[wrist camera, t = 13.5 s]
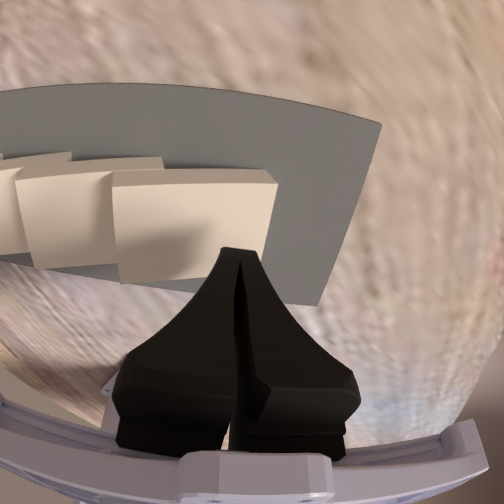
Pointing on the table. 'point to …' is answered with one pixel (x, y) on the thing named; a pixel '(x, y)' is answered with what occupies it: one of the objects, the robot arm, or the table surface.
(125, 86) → the slate mat
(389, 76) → the table surface
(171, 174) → the domino
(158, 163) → the domino
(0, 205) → the domino
